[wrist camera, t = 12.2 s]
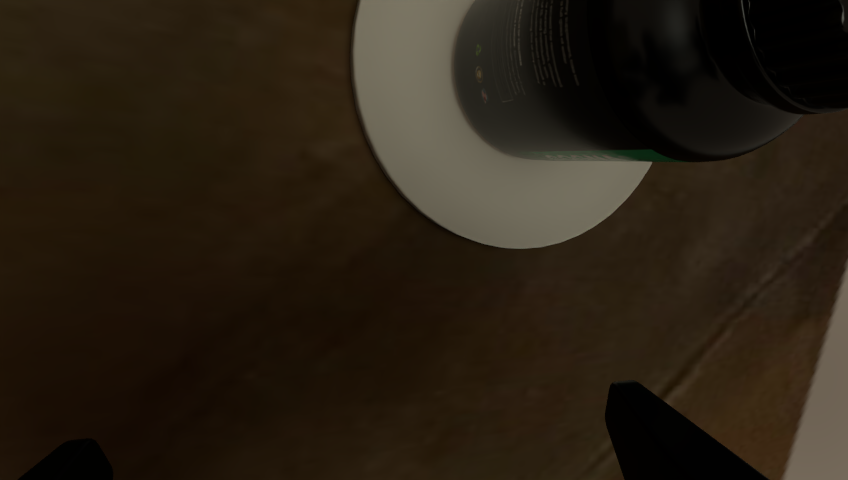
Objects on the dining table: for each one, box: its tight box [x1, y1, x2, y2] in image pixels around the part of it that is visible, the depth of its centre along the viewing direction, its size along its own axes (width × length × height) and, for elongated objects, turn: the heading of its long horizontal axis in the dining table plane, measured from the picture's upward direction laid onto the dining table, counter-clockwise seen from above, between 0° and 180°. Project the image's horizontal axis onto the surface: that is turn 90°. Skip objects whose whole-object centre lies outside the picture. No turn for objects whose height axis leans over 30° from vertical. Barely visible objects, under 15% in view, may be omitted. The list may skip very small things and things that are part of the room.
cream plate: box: [350, 0, 652, 249], centre depth 19 cm, size 14×14×1 cm
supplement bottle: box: [454, 0, 848, 162], centre depth 13 cm, size 7×7×12 cm
